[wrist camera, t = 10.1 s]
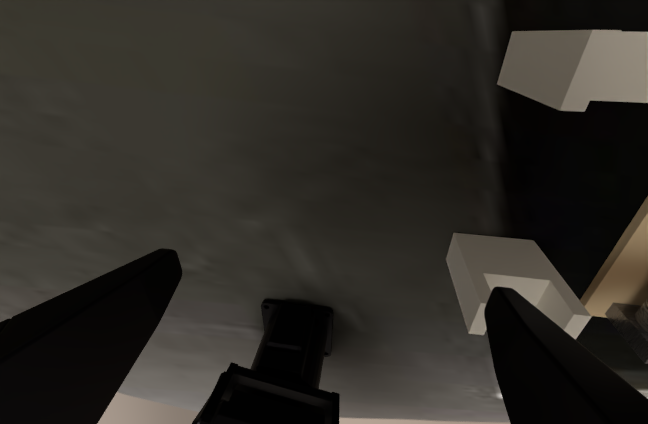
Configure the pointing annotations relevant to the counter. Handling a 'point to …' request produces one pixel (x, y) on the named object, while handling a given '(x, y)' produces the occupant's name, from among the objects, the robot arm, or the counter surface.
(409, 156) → the counter surface
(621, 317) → the rail
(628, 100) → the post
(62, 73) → the counter surface
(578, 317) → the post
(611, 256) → the board
